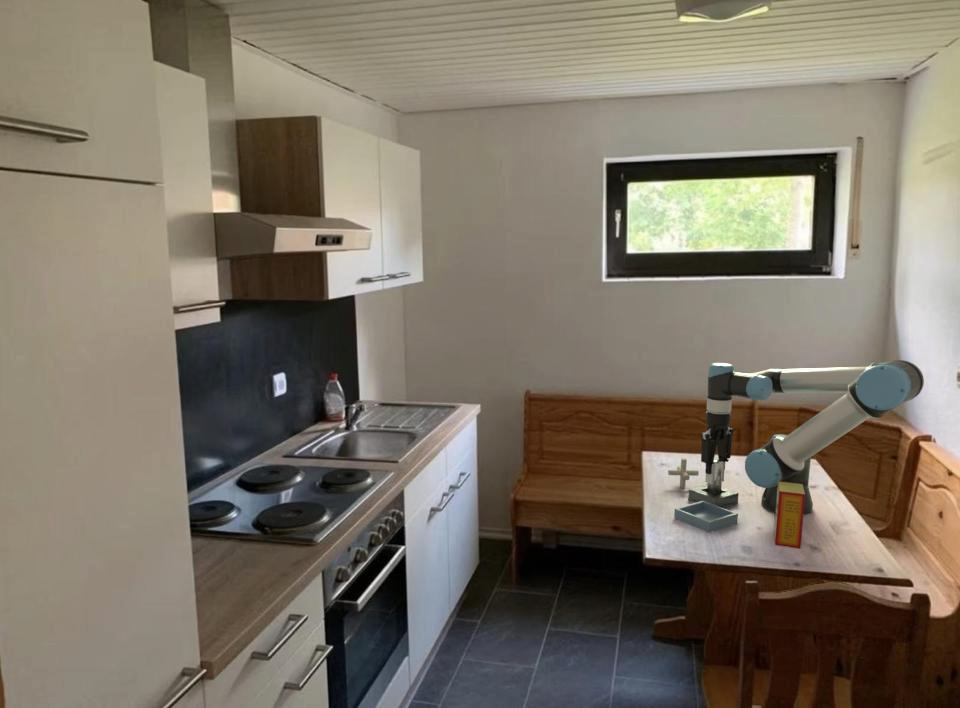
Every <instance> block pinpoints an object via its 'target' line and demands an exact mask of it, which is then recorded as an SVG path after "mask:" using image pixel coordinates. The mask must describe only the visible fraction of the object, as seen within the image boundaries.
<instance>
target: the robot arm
mask: <svg viewBox="0 0 960 708" xmlns="http://www.w3.org/2000/svg"><path fill="white" fill-rule="evenodd" d="M924 382H925V379H924V374H923V372H922V371H921V369H920V368H919V367H918V366H917V365H915V364H914V363H912V362H910V361H908V360H905V359H904V360H903V359H894V360H891V361H885V362H872V363H870V365H869V366H847V367H845V366H844V367H843V366H842V367H841V366H840V367H814V368H811V367H810V368H809V367H808V368H785V369H782V368H777V367H776V368H775V367H774V368H767V369H764V370H761V371H760V370H759V371H757V372H756V371H755V372H752V373H745V372H744V373H743V372H738V371H735V370H734V364H730V363H728V362H727V363H725V362H713V363H711V364H710V365H709V367H708V376H707V395H706V396H707V397H706V410H707V411H706V412H705V422H706V423H707V429H706V431H705V432H701V433H700V437H701V454H700V462H701V463H704V464H705V469H704V470H705V483H709V484H714V471H715V464H713V461H714V459H715V455H716V452H717V457H718V458H717V459H720V460H722V461H723V471H722V483H723V482H724V481H725V470H726V463H728V462H729V461H730V459H731V454H732V442H733V435H734V430H735V429H734V428H730V427H729V425H730V424H731V417H732V416H731V415H732V414H731V412H732V405H733V404H732V400H733V398H732V397H739V398H744V399H749V400H753V401H767V400H768V399H769V397H771V395H772V394H787V393H789V394H790V393H791V394H792V393H793V394H795V393H796V394H798V393H799V394H800V393H803V394H807V393H808V394H810V393H811V394H813V393H814V394H816V393H817V394H818V393H819V394H831V393H832V394H834V393H835V394H837V393H838V394H839V393H840V394H841V393H845V394H844V395H843V396H841V397H839V398H838V399H837V400H835V401H834V402H833V403H831V404H830V405H828V406H827V407H826V408H824V409H823V410H822V411H820V412H818V413H817V414H816V415H814V416H813V417H812V418H809V420H807V421H805V422H804V423H803V424H802V425H800V426H799V427H797V428H796V429H795V430H793V431H791V433H789V434H788V435H787V434H774V435H772V437H771V440H769V441H768V442H767V443H766V444H764V445H763V446H762V447H759V448H757V449H754V450H752V451H751V452H750V453H749V454H747V456H746V458H745V459H744V460H745V461H744V470H745V474H746V475H747V477H748V479H749V481H751V482H752V483H753V484H754V485H755V486H757V487H760V488H762V489H764V491H763V492H762V496H761V501H760V502H761V506H763V508H765V509H767V510H769V511H771V512H775V513H776V500H777V487H778V481H781V482H790V483H798V484H803V488H804V492H805V501H804V513H803V516H805V515H808V514H811V513H812V512H813V506H814V504H813V503H814V501H813V499H812V496H811V491H810V486H809V481H810V470H811V461H812V459H811V458H812V457H813V456H814V455H816V454H817V453H819V452H820V451H822V450H823V449H825V448H826V447H828V446H829V445H830V444H832V443H834V442H835V441H836V440H838V439H840V438H841V437H843V436H844V435H846V434H848V433H849V432H850V431H851V430H853V429H855V428H856V427H858V426H860V425H862V423H864V422H865V421H867V420H868V419H877V420H879V419H881V418H883V416H885V415H887V414H888V413H890V412H891V411H893V410H895V409H896V408H898V406H900V405H902V404H904V403H907V402H909V401H911V400H914V399H915V398H917V397H918V396H919V394H920V393H921V392H922V390H923V388H924V386H925V385H924V384H925V383H924ZM716 450H717V451H716Z"/></svg>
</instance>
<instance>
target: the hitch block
mask: <svg viewBox="0 0 960 708" xmlns="http://www.w3.org/2000/svg"><path fill="white" fill-rule="evenodd" d="M739 495H740V494H739V492H737V491H735V490H732V489H728V488H726V487H721V494H718V495H713V494H710V493H707V484H704V485H699V486H695V487H691V488H689V489H688V496H687V497H688V500H689V501H691V502H693V503H696V502H700V501H705V502H708V503H711V504H714V505H716V506H719V507H722V508H726V507H730V506H732V505H736V504H739Z"/></svg>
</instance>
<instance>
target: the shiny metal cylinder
mask: <svg viewBox="0 0 960 708" xmlns="http://www.w3.org/2000/svg"><path fill="white" fill-rule="evenodd" d="M713 464H715V471H714V484H709V483H707V493H710V494H713V495H718V494H721V487H722V483H723V482H722V471H723V461H722V460H720V459H718V458H714V461H713Z"/></svg>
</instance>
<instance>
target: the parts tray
mask: <svg viewBox="0 0 960 708" xmlns="http://www.w3.org/2000/svg"><path fill="white" fill-rule="evenodd" d="M673 515H674V517H673V519H674V520H677V521H679V522H681V523H684V524H686V525H688V526H691V527H694V528H696V529H698V530H701V531H703V532H705V533H709V534H710V533H713V532H716V531H719V530H722V528H723V529H725V527H726V528H728V527H731V526H735V525H737V524H738V521H739V519H738V518H739V513H737V512H735V511H733V510H729V509H727V508H725V507H723V508H722V507H719V506H716V505H714V504H711V503H708V502H705V501H700V502H693V503H689V504H685V505H683V506H678V507H676V508H674V514H673Z"/></svg>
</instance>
